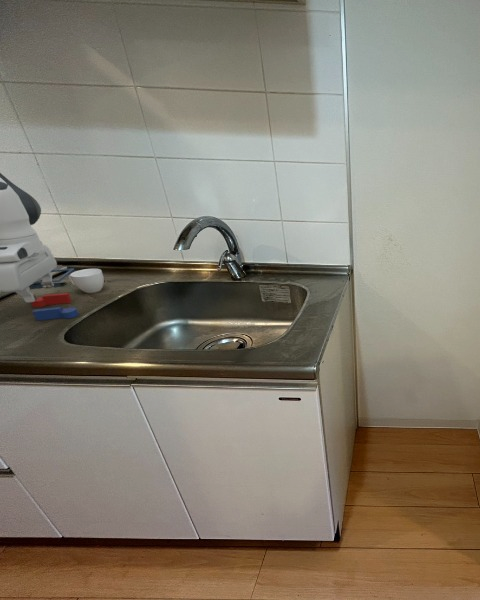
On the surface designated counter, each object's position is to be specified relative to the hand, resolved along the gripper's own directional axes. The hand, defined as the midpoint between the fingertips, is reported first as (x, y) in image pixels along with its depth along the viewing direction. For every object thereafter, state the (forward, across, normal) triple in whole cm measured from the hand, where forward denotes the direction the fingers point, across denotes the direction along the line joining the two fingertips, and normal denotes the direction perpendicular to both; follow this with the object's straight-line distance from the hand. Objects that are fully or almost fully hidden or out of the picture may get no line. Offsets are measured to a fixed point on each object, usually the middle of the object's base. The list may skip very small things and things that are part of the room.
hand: (40, 294), depth 86 cm
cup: (+8, -20, +2) cm, 21 cm away
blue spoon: (+8, 0, +1) cm, 8 cm away
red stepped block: (+8, -11, -4) cm, 14 cm away
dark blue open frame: (+8, -32, -11) cm, 35 cm away
